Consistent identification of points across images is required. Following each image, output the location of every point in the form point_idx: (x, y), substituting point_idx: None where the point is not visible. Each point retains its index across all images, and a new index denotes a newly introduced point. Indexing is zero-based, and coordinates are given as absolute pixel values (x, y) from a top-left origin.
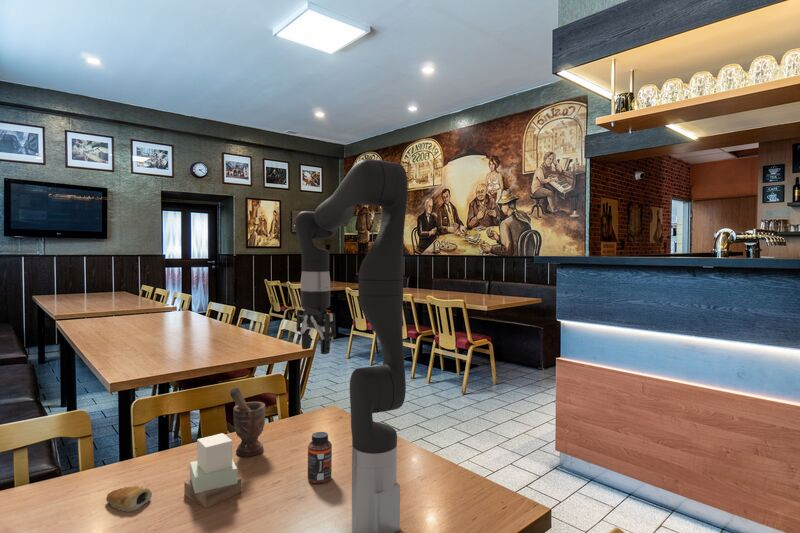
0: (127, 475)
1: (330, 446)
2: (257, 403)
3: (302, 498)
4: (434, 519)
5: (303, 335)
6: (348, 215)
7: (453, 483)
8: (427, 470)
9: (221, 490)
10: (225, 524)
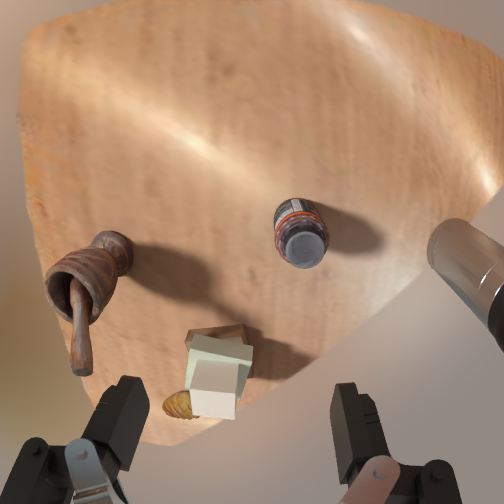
0: (115, 382)
1: (326, 228)
2: (55, 273)
3: (328, 274)
4: (490, 179)
5: (119, 467)
6: None
7: (460, 75)
8: (407, 58)
9: None
10: (305, 363)
